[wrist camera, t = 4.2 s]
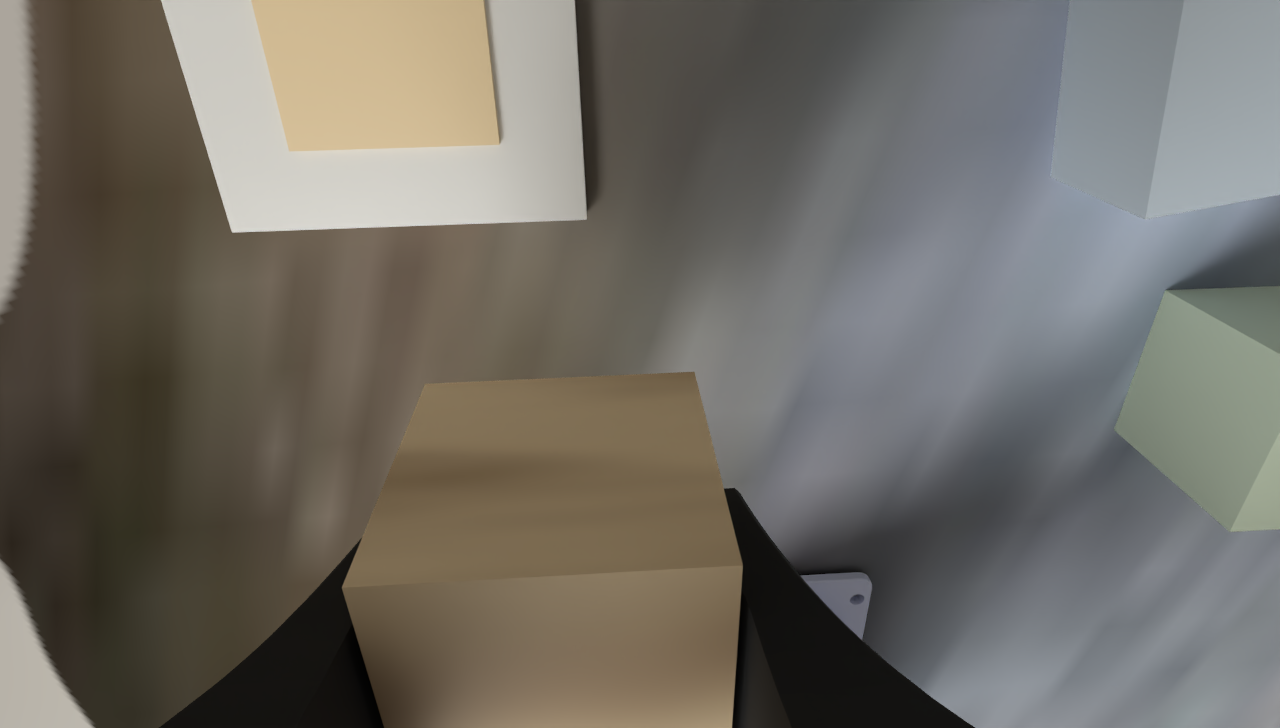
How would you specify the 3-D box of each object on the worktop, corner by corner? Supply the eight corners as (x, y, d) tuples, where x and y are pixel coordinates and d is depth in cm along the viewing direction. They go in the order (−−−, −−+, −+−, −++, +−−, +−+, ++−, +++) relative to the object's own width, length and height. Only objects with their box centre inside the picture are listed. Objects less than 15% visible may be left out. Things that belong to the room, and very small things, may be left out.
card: (587, 212, 19) (586, 221, 18) (242, 225, 19) (228, 234, 18) (562, -215, 15) (561, -225, 14) (112, -211, 14) (87, -220, 14)
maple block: (690, 568, 16) (726, 796, 11) (463, 581, 16) (411, 818, 11) (694, 371, 13) (742, 564, 9) (425, 384, 13) (342, 587, 9)
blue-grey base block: (1304, 127, 19) (1462, 160, 16) (1045, 175, 20) (1145, 219, 16) (1391, -193, 16) (1616, -239, 12) (1077, -131, 16) (1212, -159, 13)
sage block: (1257, 421, 24) (1405, 522, 20) (1112, 428, 24) (1229, 531, 19) (1323, 283, 22) (1509, 362, 17) (1163, 289, 21) (1309, 371, 17)
